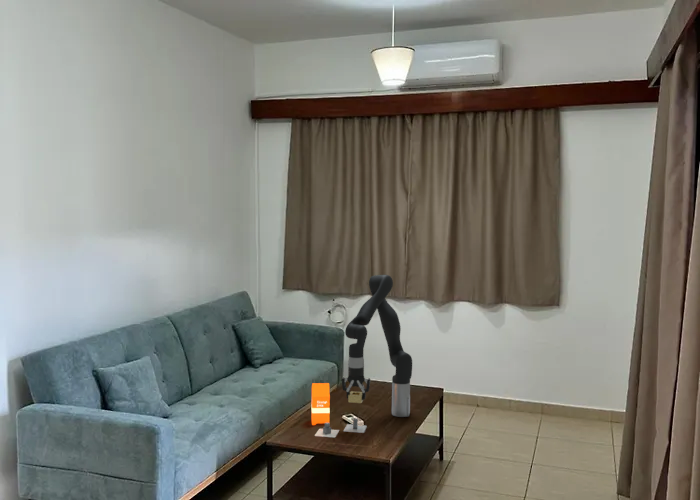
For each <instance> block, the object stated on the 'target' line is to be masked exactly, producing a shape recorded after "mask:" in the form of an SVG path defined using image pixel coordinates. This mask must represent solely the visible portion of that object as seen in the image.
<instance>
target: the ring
mask: <svg viewBox="0 0 700 500" xmlns="http://www.w3.org/2000/svg"><path fill="white" fill-rule="evenodd" d="M347 401H348V403H353V404H362V403H363V401H364V400H362V391H353V390H351V391H350V394H349V395H348V398H347Z"/></svg>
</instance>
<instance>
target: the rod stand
mask: <svg viewBox="0 0 700 500" xmlns="http://www.w3.org/2000/svg"><path fill="white" fill-rule="evenodd" d="M358 421H359V420H358V418H353V419H352V424H349V423H346V425H345V427H344V429H343V432H349V433H360V434H361V433H362V434H364V433H365V432H366V429H367V428H368V427H367V425H364V424H363V425H362V426H358V425H359V424H358Z"/></svg>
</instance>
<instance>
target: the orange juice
mask: <svg viewBox="0 0 700 500" xmlns="http://www.w3.org/2000/svg"><path fill="white" fill-rule="evenodd" d="M330 400H331V395H330V383H329V382H324V383H322V382H318V383H316V382H315V383H314V382H312V384H311V409H310V410H311V426H316V425H317V424H325V423H326V422H328V423H330V414H331V413H330V412H331V411H330V405H331V404H330Z"/></svg>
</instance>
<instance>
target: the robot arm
mask: <svg viewBox="0 0 700 500" xmlns="http://www.w3.org/2000/svg"><path fill="white" fill-rule="evenodd" d="M368 285H369V286H368V287H369V290H370V293H371V297H370V298H369V299H367V300H366V301H365V302H364V304H362V306H361V307H360V308H359V311H358V313H357V315H356V316H355V317H354V318H353V319H352V320H350V322H349V323H348V324H347V325H346V326H345V331H344V332H345V336H346V337H347V338H348V339H352V340H356V343H351V344H349V346H348V361H347V362H348V364H347V369H348V371H347V377H344V376H343V377H342V378H341V387H342V391H344V392H346V399H348V395H349V394H350V392H351V391H350V390H351V388H352V387H356V388H357V387H358V388H359V389H360V390H361V392H362V400H363V401H364V400H365V399H366V393H368V392H369V391H370V387H371V386H370V385H371V378H366V377H365V359H364V348H365V344H366V340H367V337H368V336H367V335H368V330H367V329H368V328H367V327H366V326H368V325H369V324H370V322H371V320H372V318H373V317H374V315H375V313H376V311H377V312H378V316H379V319H380V323H381V324H380V325H381V328H382V331H383V333H384V337H385V341H386V343H387V350H388V353H389V361H390V363H391V365H392V366H393V367H394V368H395V374H393V376H392V379H391V380H392V381H391V390H392V391H391V415H392V416H393V417H396V418H397V417H399V418H404V417H405V418H406V417H410V413H411V378H412V377H413V376H412V373H413V359H412V355H410V354H409V353H407V352H406V351H404V349H403V346H402V342H401V331H402V330H401V329H402V328H401V323H400V319H399V316H398V313H397V312H396V310H395V309H394V307H392V306H391V304H390V303H389V302H388V301H387V300H386V297H387V296H388V295H389V294H390V292H391V291H392V289H393V286H394V282H393V278H392V276H390V275H389V274H377V275H372V276H371V277H369V280H368ZM346 382H348V383H349V385H348V386H347V383H346ZM364 382H365V383H366V386H365V385H364V384H363V383H364ZM346 386H347V387H346ZM365 387H366V388H365Z"/></svg>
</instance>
